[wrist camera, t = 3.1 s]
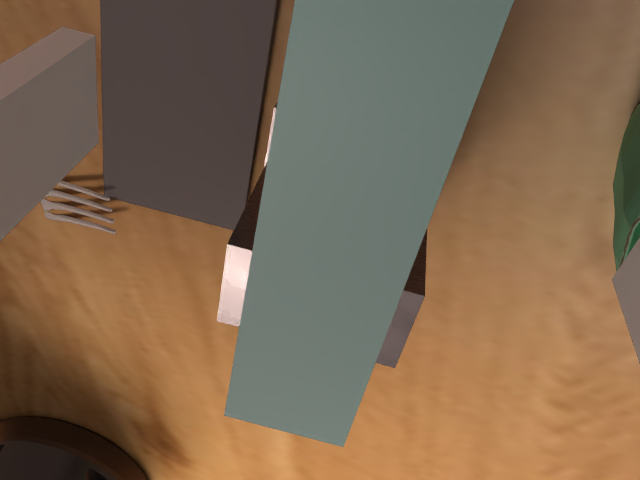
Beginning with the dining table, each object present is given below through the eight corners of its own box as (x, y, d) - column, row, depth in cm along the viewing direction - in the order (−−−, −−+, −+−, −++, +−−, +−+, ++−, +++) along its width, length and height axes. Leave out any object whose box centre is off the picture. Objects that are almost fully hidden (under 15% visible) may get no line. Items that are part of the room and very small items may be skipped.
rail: (262, 306, 27) (224, 415, 22) (423, -508, 13) (412, -694, 8) (360, 332, 27) (343, 447, 22) (632, -457, 13) (748, -612, 8)
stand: (260, 200, 34) (200, 334, 25) (366, -421, 19) (308, -594, 11) (412, 240, 33) (402, 387, 25) (631, -355, 19) (781, -476, 11)
